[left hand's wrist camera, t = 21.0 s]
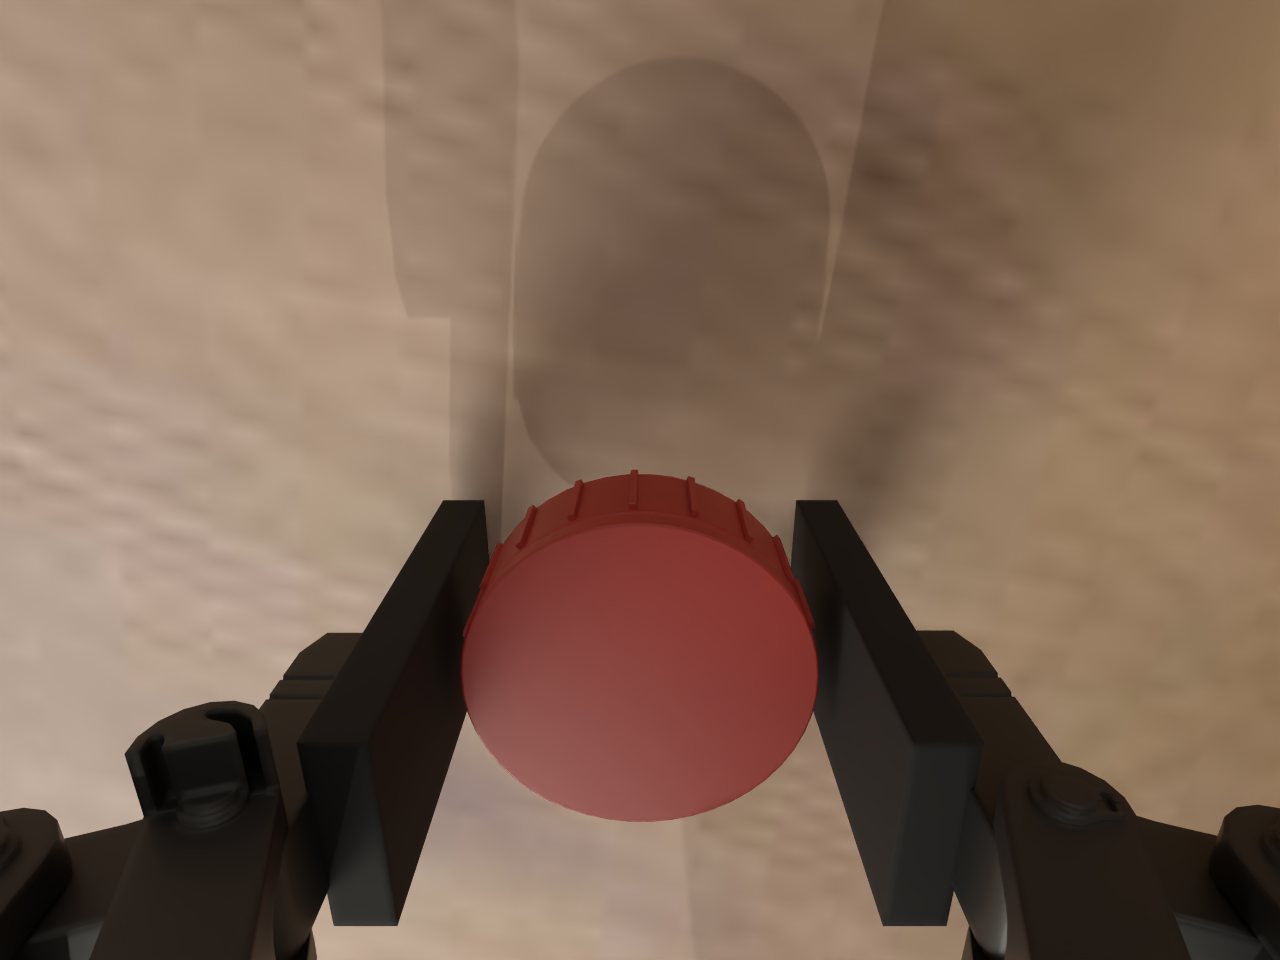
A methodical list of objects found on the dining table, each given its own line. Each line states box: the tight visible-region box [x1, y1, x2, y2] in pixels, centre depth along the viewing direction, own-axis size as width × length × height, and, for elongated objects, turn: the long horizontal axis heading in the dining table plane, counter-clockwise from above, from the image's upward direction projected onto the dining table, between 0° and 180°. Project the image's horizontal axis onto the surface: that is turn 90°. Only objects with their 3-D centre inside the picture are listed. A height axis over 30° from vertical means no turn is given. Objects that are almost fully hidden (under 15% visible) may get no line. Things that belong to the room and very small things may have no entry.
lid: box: [460, 470, 819, 822], centre depth 12 cm, size 5×5×2 cm
